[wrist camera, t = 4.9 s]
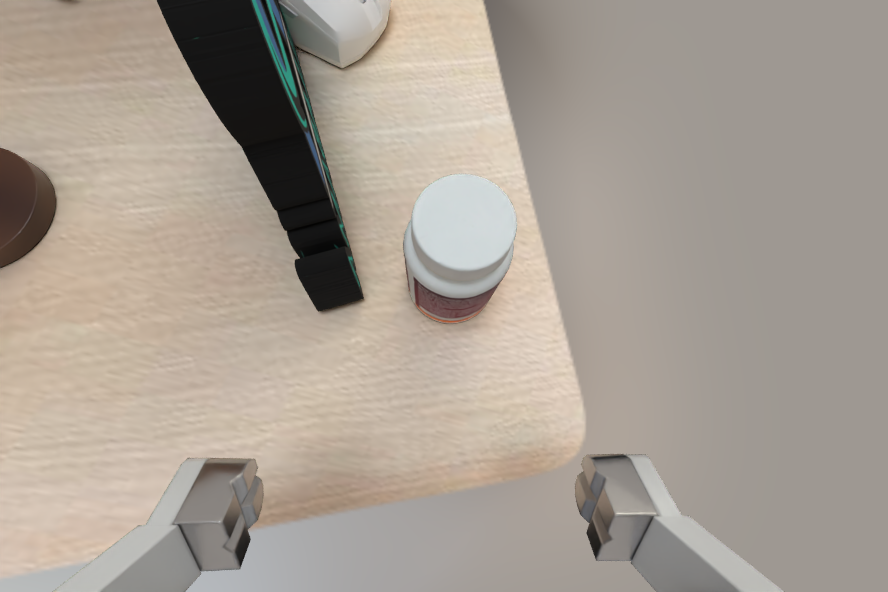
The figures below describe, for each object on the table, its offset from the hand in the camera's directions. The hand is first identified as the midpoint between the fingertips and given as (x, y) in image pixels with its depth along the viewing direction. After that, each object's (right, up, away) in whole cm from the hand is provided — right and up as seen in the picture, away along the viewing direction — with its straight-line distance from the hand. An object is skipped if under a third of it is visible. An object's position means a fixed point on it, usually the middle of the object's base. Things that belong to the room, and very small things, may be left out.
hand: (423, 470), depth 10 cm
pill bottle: (+1, +5, +13) cm, 14 cm away
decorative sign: (-8, +13, +15) cm, 21 cm away
